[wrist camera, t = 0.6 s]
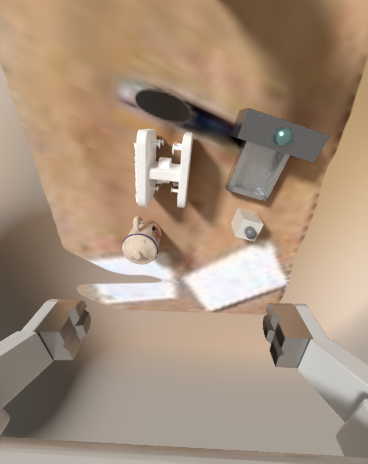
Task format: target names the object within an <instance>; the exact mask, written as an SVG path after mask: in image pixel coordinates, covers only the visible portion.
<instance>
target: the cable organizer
mask: <svg viewBox="0 0 368 464" xmlns="http://www.w3.org/2000/svg"><path fill="white" fill-rule="evenodd" d="M160 143H162V146H163V144H164V140H160V139H159V140H157V138H156V131H155V130H153V129H143V130H139V131H138V133H137V141H136V143H134V147H135V151H137V152H135V155H137V156H135V158H136V159H135V162H137V163H136V164H135V167H136V169H135V170H136V171H135V173H137V174H136V175H135V176H136V184H135V185H136V192H137V194H136V195H135V197H136V203H138V205H139V206H141V207H147V206H148V204H149V203H150V201H151V199H152V197H153V196H154V193H155V190H157V192H158V189H159V186H158V187H155V183H156V184H162V183H169V182H170V181H172V182H173V187H174V186H178V189H172V188H171V192H177V193H178V198H177V206H178V207H181V208H184V207H185V204H186V198H187V189H188V180H189V171H190V161H191V152H192V143H193V134H192V133H188V132H186V133H185V134H184V137H183V142H182V144H177V143H175V146H174V144H173V147H172V153H173V154H174V150H182V151H181V163H180V164H173V163H171V162H172V161H171V158H164V157H160V158H159V161H158V162H156V146H159V148H160ZM156 180H157V181H156ZM174 182H179V183H174Z"/></svg>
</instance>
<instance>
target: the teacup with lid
mask: <svg viewBox="0 0 368 464" xmlns="http://www.w3.org/2000/svg"><path fill="white" fill-rule="evenodd" d="M133 225H134V226H133V228H132V230H131V231H130V233H129V235H128V236H127V237H126V238H125V240H124V241H123V244H122V250H123V253H124V255H125V256H126V258H127V259H128V260H130V261H131V262H133V263H136V264H148V263H150V262H152V261H153V260H154V259H155V258H156V256H157V254H158V247H159V244H160V240H161V237H162V233H161V230H160V228H159V226H158V225H157V224H155V223H154V222H152V221H148V220H142V218H141V217H140V216H136V217H135V218H134V221H133Z"/></svg>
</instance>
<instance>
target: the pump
mask: <svg viewBox="0 0 368 464" xmlns="http://www.w3.org/2000/svg"><path fill="white" fill-rule="evenodd" d="M231 225H232V228H233V231H234V234H235V236H236V237H239V238H242V239H246V240H250V241H253V242H255V240H256V238H257V236H258V234H259V233H260V231H261V229H262V227H263V225H264V224H263V223H262V221H261V220H260V218H259V217H258V215H257V214H256V213H254V212H251V211H248V210H244V209H241V208H238V210H237V212H236V214H235V216H234V219H233V221H232V223H231Z"/></svg>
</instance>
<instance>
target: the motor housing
mask: <svg viewBox="0 0 368 464" xmlns="http://www.w3.org/2000/svg"><path fill="white" fill-rule="evenodd" d="M231 136H233V137H236V138H239V139H242V140H243V141H242V144H241V146H240V149H239V152H238V154H237V157H236V159H235V162H234V164H233V167H232V169H231V172H230V175H229V177H228V180H227V182H226V185H225V187H226V189H227V190H228V191H232V192H235V193H238V194H242V195H245V196H249V197H252V198H255V199H259V200H262V201H265V202H266V201H267V199H268V197H269V195H270V193H271V191H272V189H273V187H274V186H275V184H276V182H277V180H278V178H279V176H280V174H281V172H282V170H283V168H284V166H285V164H286V162H287V160H288V158H289V156H290V155H291V156H294V157H297V158H300V159H304V160H307V161H310V162H313V163H314V162H315V160H316V158H317V157H318V155H319V153H320V152H321V150H322V148H323V146H324V145H325V143H326V141H327V140H328V138H329V136H330V135H327V134H324V133H321V132H318V131H315V130H312V129H309V128H306V127H303V126H300V125H297V124H294V123H291V122H288V121H286V120H283V119H280V118H277V117H274V116H271V115H268V114H265V113H262V112H259V111H256V110H253V109H250V108H247V109H243V110H240V111H239V114H238V116H237V119H236V122H235V125H234V128H233V130H232V133H231Z"/></svg>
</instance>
